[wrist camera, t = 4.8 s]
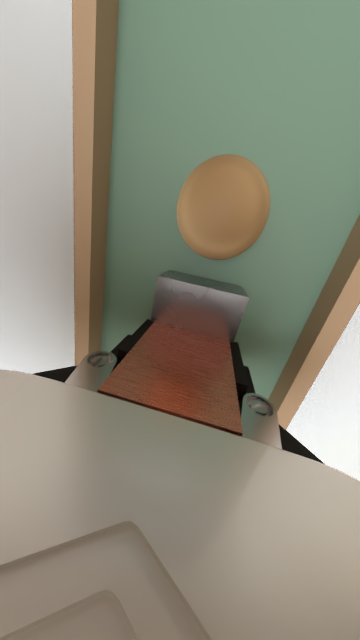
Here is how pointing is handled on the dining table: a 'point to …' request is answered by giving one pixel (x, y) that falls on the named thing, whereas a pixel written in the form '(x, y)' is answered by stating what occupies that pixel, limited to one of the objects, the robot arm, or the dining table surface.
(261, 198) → the ball
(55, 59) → the dining table surface
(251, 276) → the pitch
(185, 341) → the silver-capped pink block
